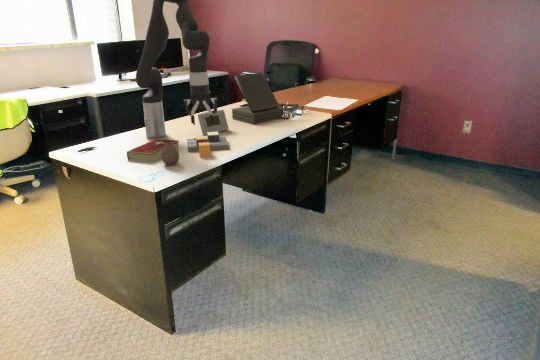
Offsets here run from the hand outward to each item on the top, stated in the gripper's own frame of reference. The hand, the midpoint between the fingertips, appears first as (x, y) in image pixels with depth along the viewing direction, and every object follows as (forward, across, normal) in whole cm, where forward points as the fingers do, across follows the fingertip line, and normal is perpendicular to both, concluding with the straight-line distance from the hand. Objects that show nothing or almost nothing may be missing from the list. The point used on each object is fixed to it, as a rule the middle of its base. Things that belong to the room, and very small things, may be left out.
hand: (202, 123), depth 175 cm
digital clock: (+14, +7, +37) cm, 41 cm away
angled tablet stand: (+14, +34, +62) cm, 72 cm away
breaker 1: (+11, 0, +9) cm, 15 cm away
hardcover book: (+14, -21, +8) cm, 27 cm away
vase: (+14, -14, -9) cm, 22 cm away
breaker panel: (+14, +2, +13) cm, 19 cm away
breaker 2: (+11, +5, +15) cm, 20 cm away
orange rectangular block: (+14, 0, 0) cm, 14 cm away
